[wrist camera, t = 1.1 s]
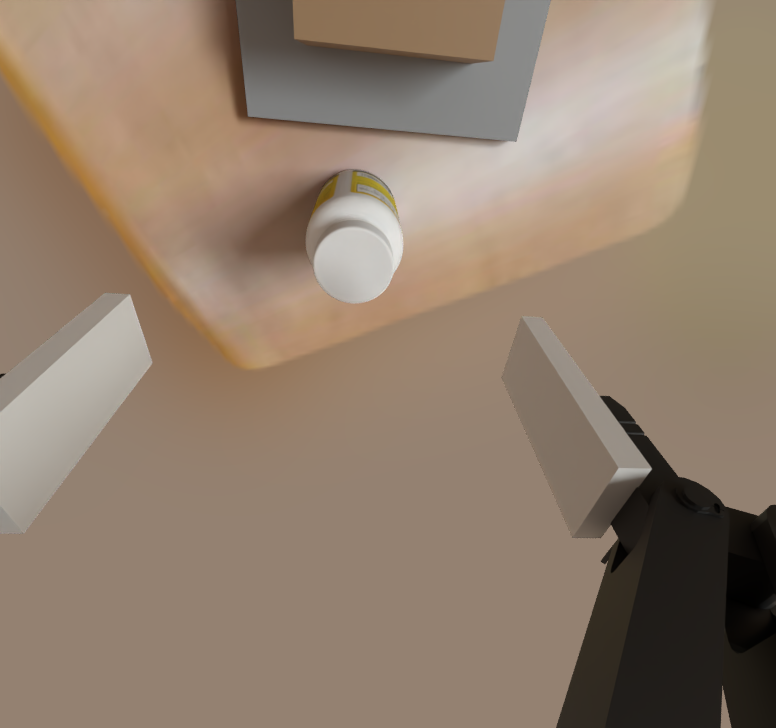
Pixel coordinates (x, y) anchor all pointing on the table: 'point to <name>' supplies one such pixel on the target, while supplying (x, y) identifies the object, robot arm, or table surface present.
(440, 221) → the table surface
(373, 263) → the supplement bottle
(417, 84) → the base
